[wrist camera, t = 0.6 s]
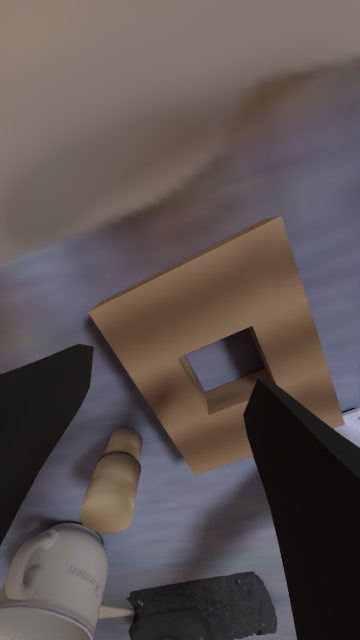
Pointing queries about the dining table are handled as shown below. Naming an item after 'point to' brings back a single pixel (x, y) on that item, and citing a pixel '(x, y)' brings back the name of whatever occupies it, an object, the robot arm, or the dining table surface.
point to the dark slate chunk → (204, 610)
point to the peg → (113, 485)
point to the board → (212, 325)
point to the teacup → (55, 586)
